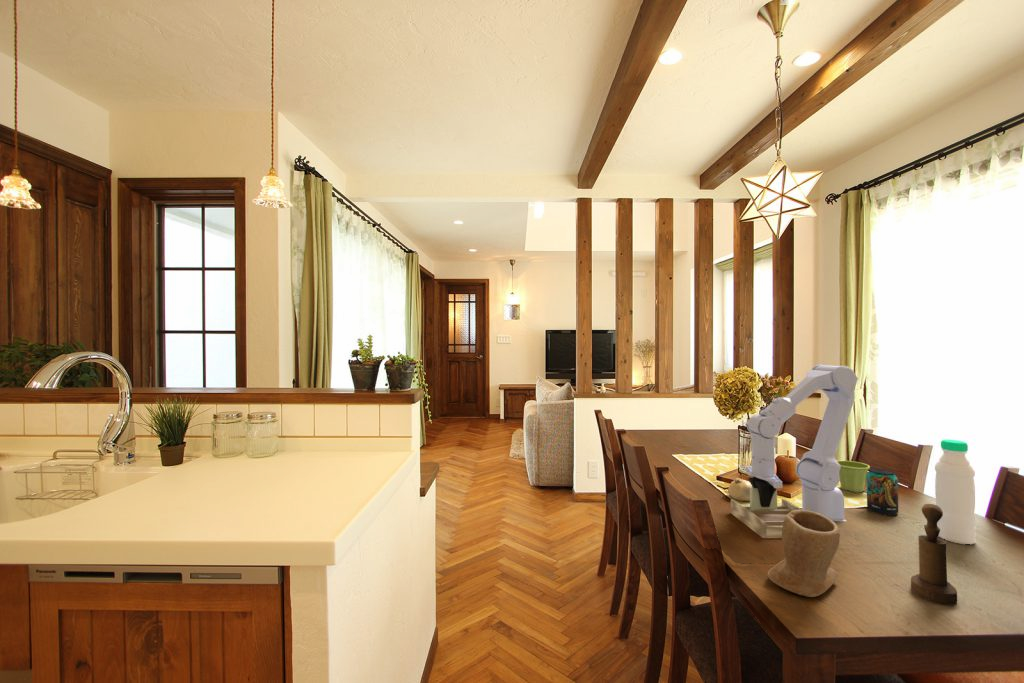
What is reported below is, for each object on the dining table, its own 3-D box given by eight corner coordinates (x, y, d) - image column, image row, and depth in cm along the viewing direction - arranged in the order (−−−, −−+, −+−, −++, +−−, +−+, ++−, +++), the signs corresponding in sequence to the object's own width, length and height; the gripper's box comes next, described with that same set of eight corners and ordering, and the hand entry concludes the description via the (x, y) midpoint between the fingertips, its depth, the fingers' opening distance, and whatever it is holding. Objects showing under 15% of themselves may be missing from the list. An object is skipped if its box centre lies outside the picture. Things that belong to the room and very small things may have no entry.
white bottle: (966, 536, 110) (965, 439, 110) (982, 548, 103) (980, 445, 104) (930, 531, 113) (929, 436, 113) (943, 542, 106) (942, 442, 107)
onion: (734, 494, 142) (734, 472, 142) (760, 500, 136) (760, 478, 136) (724, 500, 137) (724, 477, 137) (751, 506, 131) (751, 483, 131)
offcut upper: (751, 517, 119) (751, 513, 119) (789, 518, 118) (789, 514, 118) (758, 523, 115) (758, 519, 115) (797, 524, 114) (797, 520, 114)
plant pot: (845, 493, 141) (844, 467, 141) (829, 484, 151) (828, 459, 151) (877, 495, 140) (876, 468, 140) (858, 485, 149) (858, 460, 149)
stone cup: (825, 612, 79) (824, 532, 80) (759, 583, 89) (758, 511, 89) (857, 586, 88) (856, 513, 88) (793, 562, 98) (792, 496, 98)
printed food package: (878, 515, 123) (877, 474, 123) (861, 506, 130) (860, 467, 130) (904, 516, 122) (904, 474, 122) (886, 507, 129) (885, 467, 129)
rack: (730, 515, 125) (730, 499, 125) (784, 514, 124) (784, 499, 124) (762, 540, 109) (762, 522, 109) (824, 539, 108) (823, 521, 108)
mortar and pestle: (901, 586, 87) (900, 499, 88) (930, 585, 88) (929, 497, 88) (936, 606, 81) (935, 511, 81) (967, 604, 81) (965, 510, 81)
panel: (750, 516, 122) (749, 488, 122) (774, 516, 122) (774, 488, 122) (752, 517, 121) (752, 489, 121) (777, 517, 121) (776, 489, 121)
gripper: (735, 451, 129) (736, 496, 129) (763, 464, 114) (764, 515, 114) (759, 451, 129) (759, 496, 129) (790, 464, 114) (790, 515, 114)
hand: (763, 505), depth 122 cm, fingers closed on panel, 1 cm apart
